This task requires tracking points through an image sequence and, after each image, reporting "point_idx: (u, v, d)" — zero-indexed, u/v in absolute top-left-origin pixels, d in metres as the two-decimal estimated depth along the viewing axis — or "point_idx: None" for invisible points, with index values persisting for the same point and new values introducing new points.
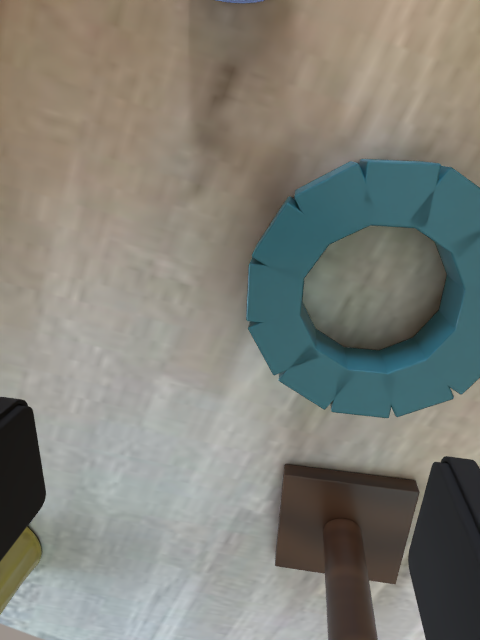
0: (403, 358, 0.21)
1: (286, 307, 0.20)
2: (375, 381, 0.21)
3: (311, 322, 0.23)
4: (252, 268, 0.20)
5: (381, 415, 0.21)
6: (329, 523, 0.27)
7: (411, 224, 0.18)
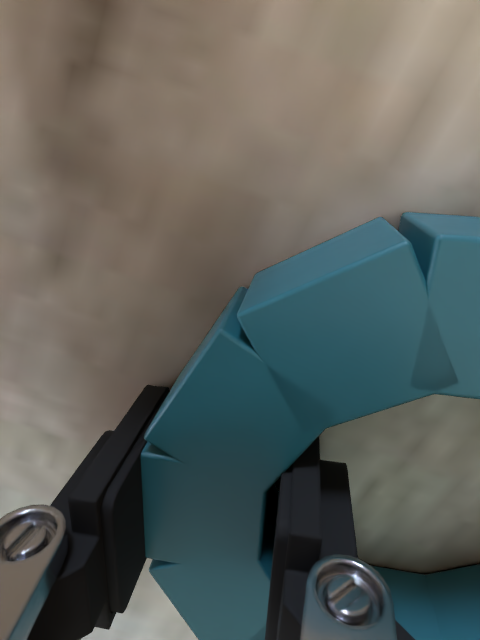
0: None
1: (228, 543, 0.09)
2: None
3: None
4: (146, 463, 0.08)
5: None
6: None
7: None
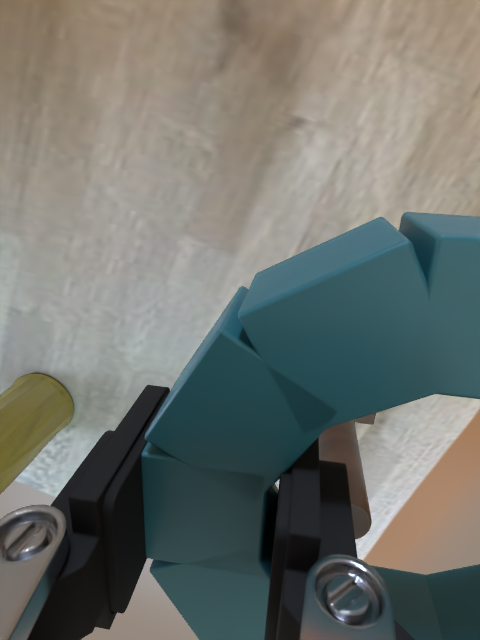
0: None
1: (228, 543, 0.09)
2: None
3: None
4: (147, 463, 0.08)
5: None
6: None
7: None
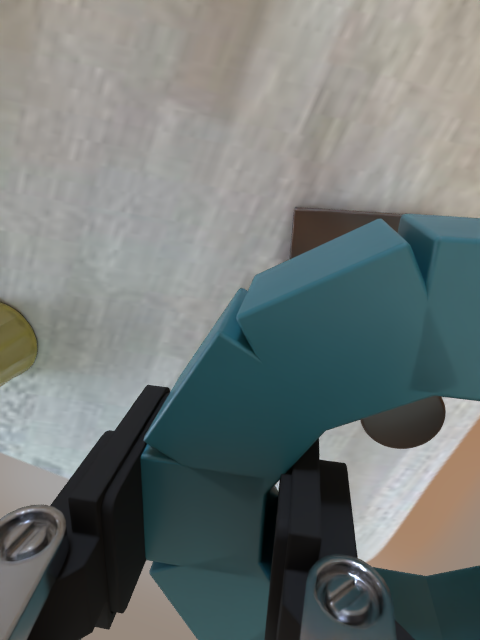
0: None
1: (228, 545, 0.09)
2: None
3: None
4: (146, 466, 0.08)
5: None
6: None
7: None
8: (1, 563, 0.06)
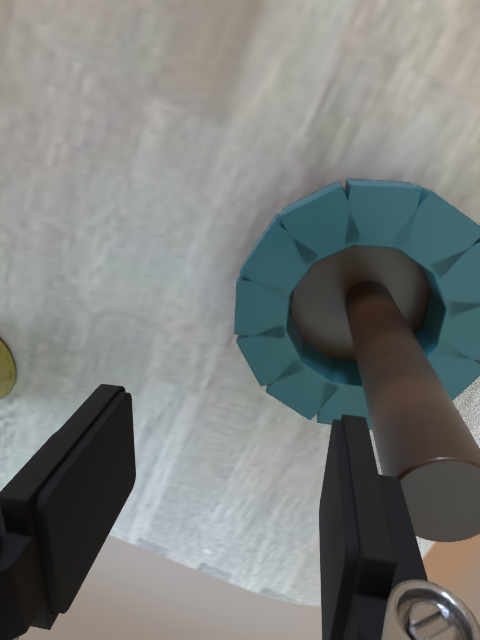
0: None
1: (273, 322, 0.21)
2: (359, 394, 0.21)
3: (299, 335, 0.23)
4: (240, 284, 0.20)
5: None
6: (352, 288, 0.22)
7: (393, 245, 0.18)
8: None
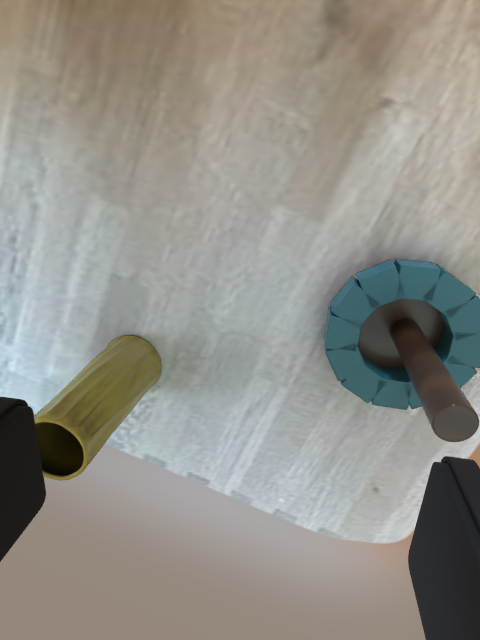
0: None
1: (349, 341, 0.35)
2: (400, 386, 0.35)
3: (360, 350, 0.37)
4: (331, 318, 0.34)
5: (402, 407, 0.36)
6: (396, 322, 0.36)
7: (423, 299, 0.32)
8: None
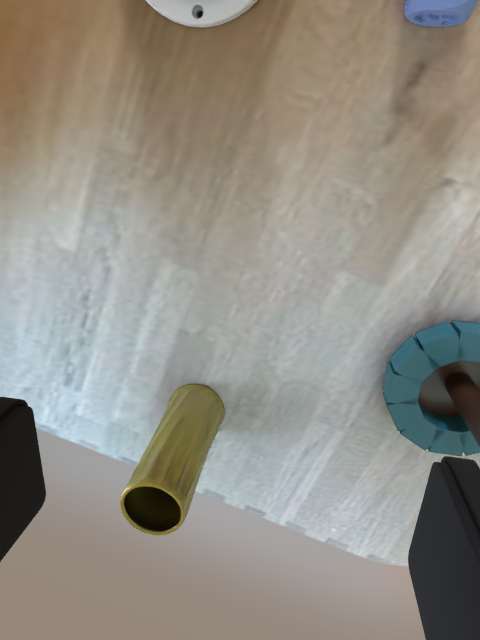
0: None
1: (410, 396, 0.38)
2: (456, 436, 0.38)
3: None
4: (394, 376, 0.37)
5: (457, 454, 0.39)
6: (451, 376, 0.39)
7: None
8: None
